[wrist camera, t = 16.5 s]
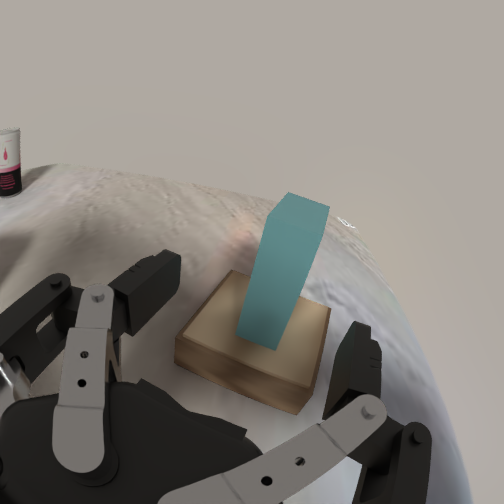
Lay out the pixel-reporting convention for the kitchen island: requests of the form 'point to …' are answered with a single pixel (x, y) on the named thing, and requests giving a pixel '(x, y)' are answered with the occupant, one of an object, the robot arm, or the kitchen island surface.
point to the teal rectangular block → (281, 268)
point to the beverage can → (10, 163)
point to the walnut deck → (254, 348)
